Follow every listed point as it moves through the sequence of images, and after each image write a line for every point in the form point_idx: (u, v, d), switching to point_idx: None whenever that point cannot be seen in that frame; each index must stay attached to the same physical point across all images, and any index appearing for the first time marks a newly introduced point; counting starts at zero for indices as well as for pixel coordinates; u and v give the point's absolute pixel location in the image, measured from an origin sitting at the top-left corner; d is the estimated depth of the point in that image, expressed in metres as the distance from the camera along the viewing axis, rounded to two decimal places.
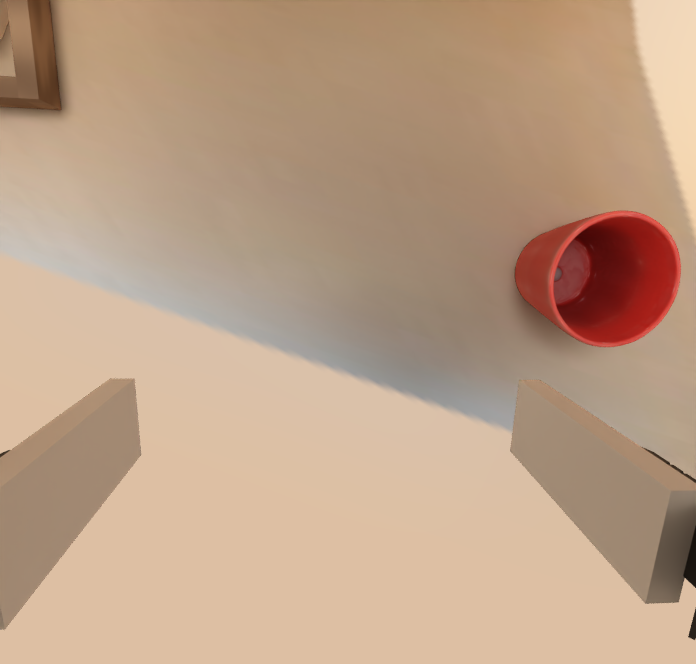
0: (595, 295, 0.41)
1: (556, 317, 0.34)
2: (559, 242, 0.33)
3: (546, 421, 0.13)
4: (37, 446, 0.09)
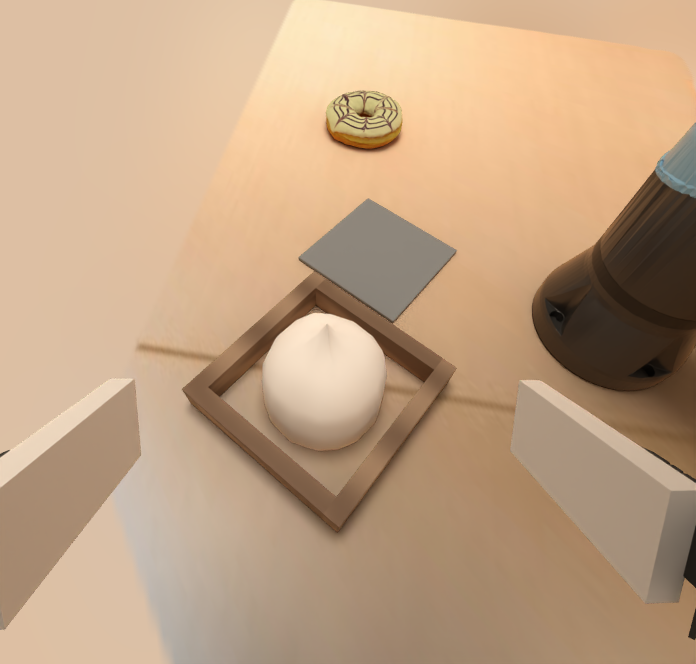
0: None
1: None
2: None
3: (546, 421, 0.13)
4: (37, 446, 0.09)
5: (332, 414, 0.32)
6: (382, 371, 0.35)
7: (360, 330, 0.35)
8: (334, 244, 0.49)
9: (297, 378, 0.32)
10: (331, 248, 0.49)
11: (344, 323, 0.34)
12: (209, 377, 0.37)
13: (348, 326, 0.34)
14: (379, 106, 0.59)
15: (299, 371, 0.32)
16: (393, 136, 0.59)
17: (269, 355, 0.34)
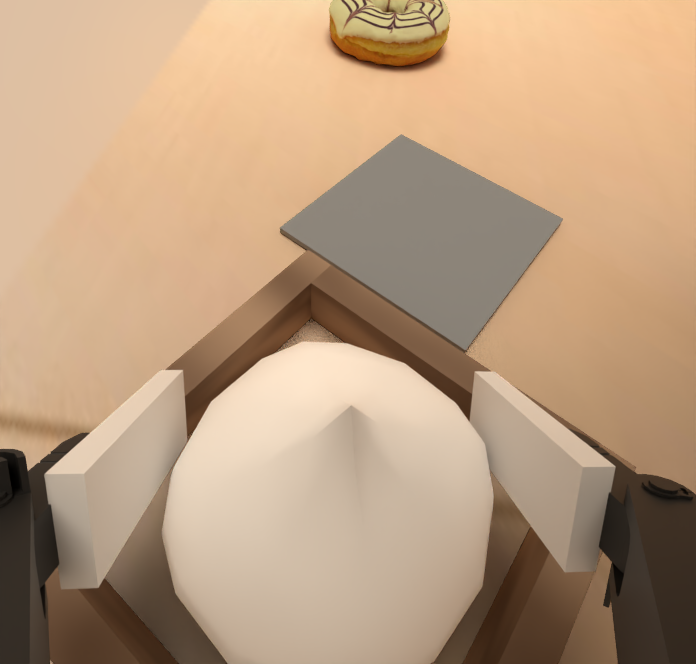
0: None
1: None
2: None
3: (494, 409, 0.14)
4: (115, 427, 0.10)
5: None
6: (492, 506, 0.13)
7: (431, 393, 0.13)
8: (345, 206, 0.27)
9: (246, 573, 0.10)
10: (340, 213, 0.27)
11: (392, 379, 0.12)
12: None
13: (404, 387, 0.12)
14: None
15: (254, 549, 0.09)
16: (436, 45, 0.37)
17: (178, 465, 0.12)
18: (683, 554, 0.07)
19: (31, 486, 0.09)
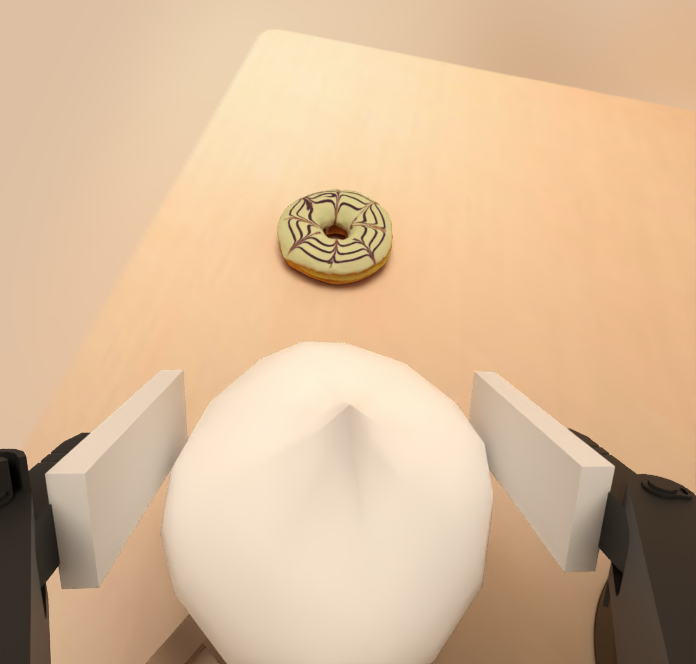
0: None
1: None
2: None
3: (494, 409, 0.14)
4: (116, 427, 0.10)
5: None
6: (491, 506, 0.13)
7: (430, 393, 0.13)
8: None
9: (245, 572, 0.10)
10: None
11: (392, 378, 0.12)
12: None
13: (403, 387, 0.12)
14: (358, 221, 0.39)
15: (253, 549, 0.09)
16: (377, 268, 0.39)
17: (177, 465, 0.12)
18: (683, 554, 0.07)
19: (32, 486, 0.09)
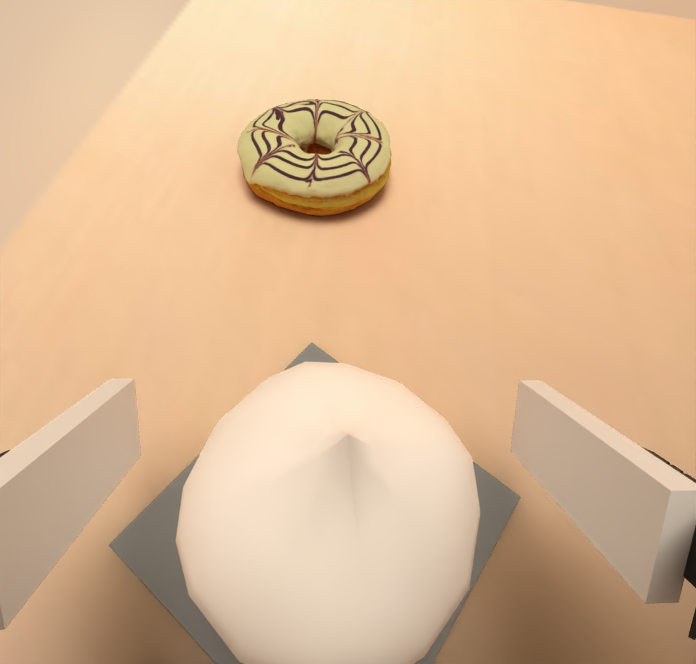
0: None
1: None
2: None
3: (547, 421, 0.13)
4: (37, 446, 0.09)
5: None
6: (477, 516, 0.14)
7: (422, 412, 0.14)
8: None
9: (255, 577, 0.11)
10: None
11: (386, 401, 0.13)
12: None
13: (397, 409, 0.13)
14: (345, 131, 0.30)
15: (262, 557, 0.11)
16: (373, 192, 0.29)
17: (191, 478, 0.13)
18: None
19: None
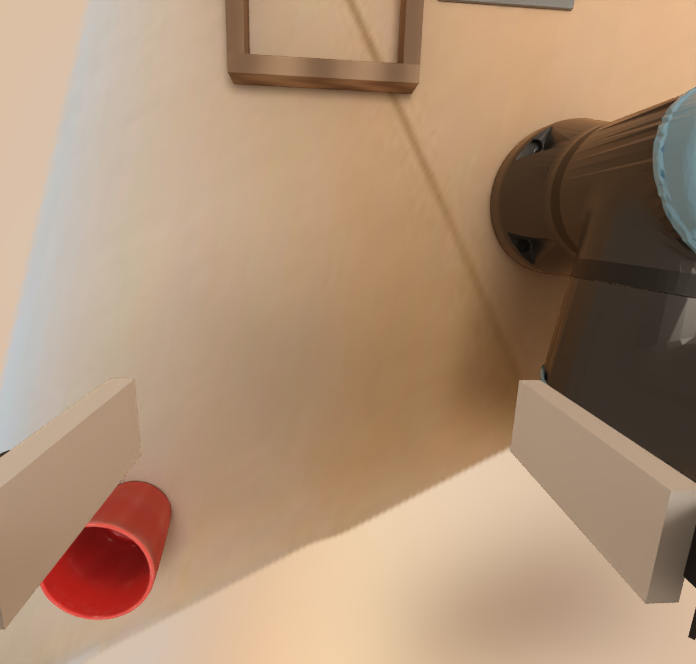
0: (111, 550, 0.48)
1: None
2: (126, 524, 0.40)
3: (546, 421, 0.13)
4: (37, 446, 0.09)
5: None
6: None
7: None
8: None
9: None
10: None
11: None
12: None
13: None
14: None
15: None
16: None
17: None
18: None
19: None
